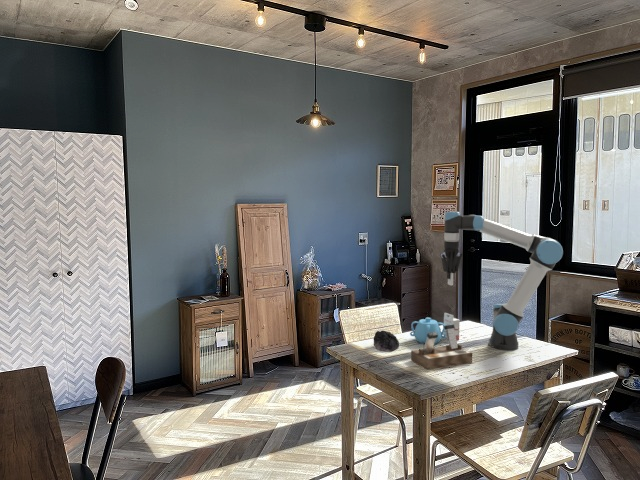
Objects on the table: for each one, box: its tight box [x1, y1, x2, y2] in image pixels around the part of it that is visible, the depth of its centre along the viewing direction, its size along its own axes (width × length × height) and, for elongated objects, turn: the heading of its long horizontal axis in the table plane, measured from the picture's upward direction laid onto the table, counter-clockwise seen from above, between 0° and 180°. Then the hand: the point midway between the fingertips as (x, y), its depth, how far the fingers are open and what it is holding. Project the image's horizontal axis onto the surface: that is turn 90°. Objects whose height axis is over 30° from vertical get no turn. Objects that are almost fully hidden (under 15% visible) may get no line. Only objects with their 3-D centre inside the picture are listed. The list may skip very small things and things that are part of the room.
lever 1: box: [422, 332, 438, 354], centre depth 233 cm, size 5×2×12 cm, turn 112°
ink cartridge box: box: [442, 312, 461, 341], centre depth 277 cm, size 9×5×15 cm, turn 25°
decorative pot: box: [409, 316, 446, 345], centre depth 272 cm, size 16×16×14 cm
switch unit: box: [410, 343, 473, 371], centre depth 238 cm, size 26×14×7 cm, turn 112°
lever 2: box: [444, 325, 458, 349], centre depth 244 cm, size 5×2×12 cm, turn 112°
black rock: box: [373, 330, 400, 353], centre depth 260 cm, size 13×14×10 cm
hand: (450, 284), depth 258 cm, fingers closed
